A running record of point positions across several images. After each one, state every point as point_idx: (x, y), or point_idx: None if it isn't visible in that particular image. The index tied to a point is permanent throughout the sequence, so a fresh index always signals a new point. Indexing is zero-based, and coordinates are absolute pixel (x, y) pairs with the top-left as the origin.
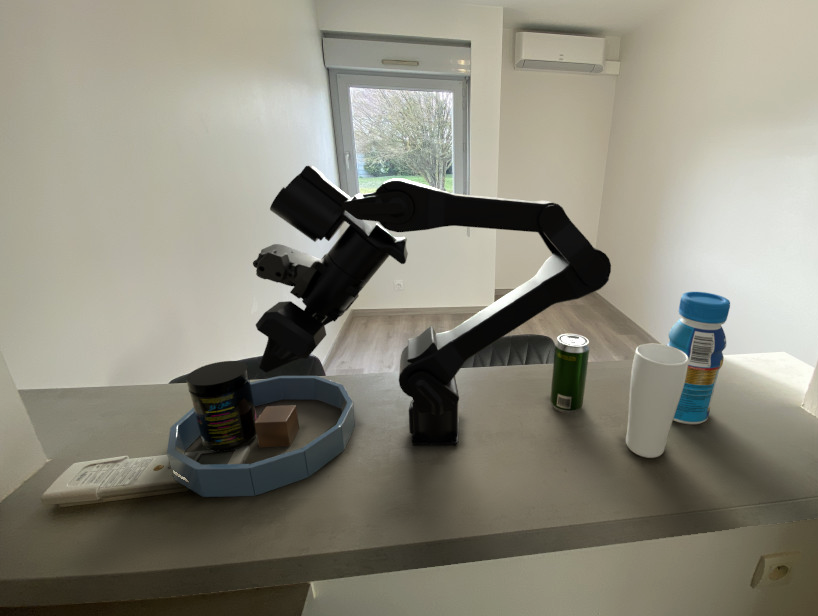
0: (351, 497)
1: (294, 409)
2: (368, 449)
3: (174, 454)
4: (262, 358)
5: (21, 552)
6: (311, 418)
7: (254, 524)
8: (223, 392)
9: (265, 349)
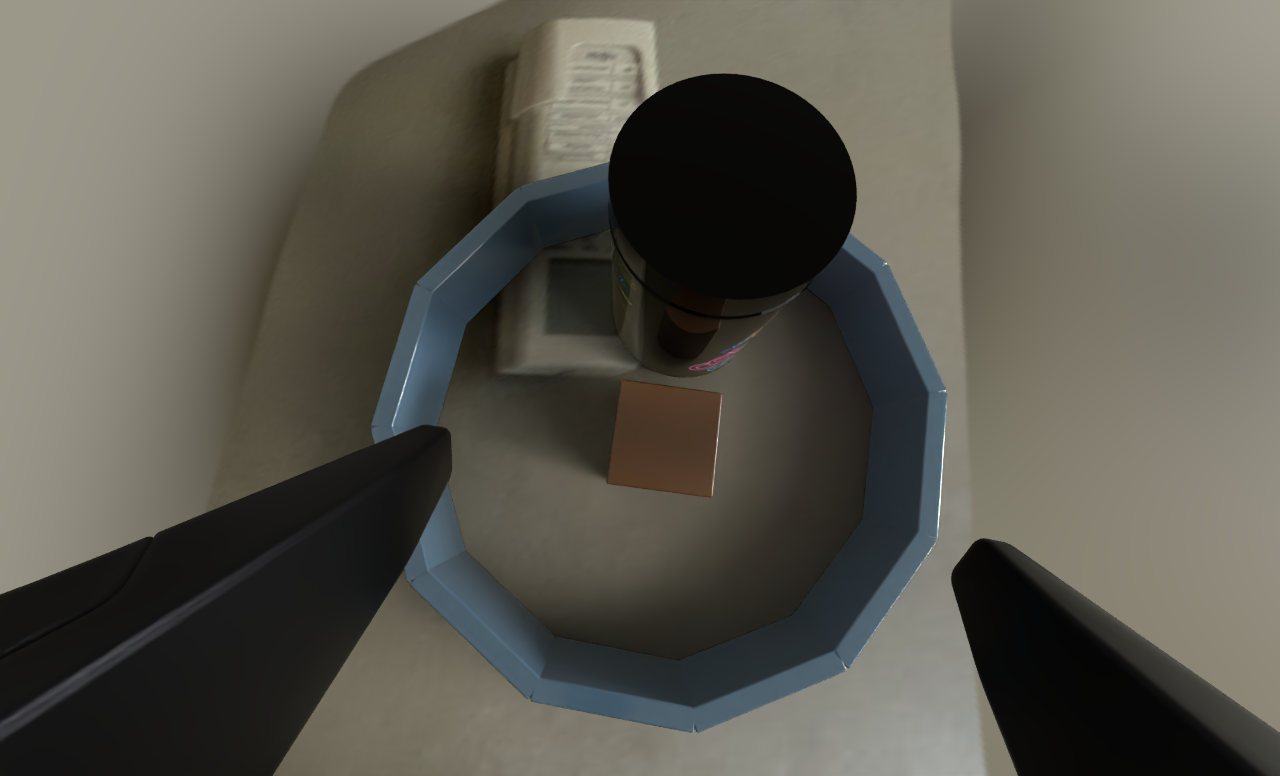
0: (328, 699)
1: (691, 494)
2: (534, 738)
3: (502, 208)
4: (316, 471)
5: (395, 65)
6: (746, 520)
7: (317, 458)
8: (619, 251)
9: (132, 544)
